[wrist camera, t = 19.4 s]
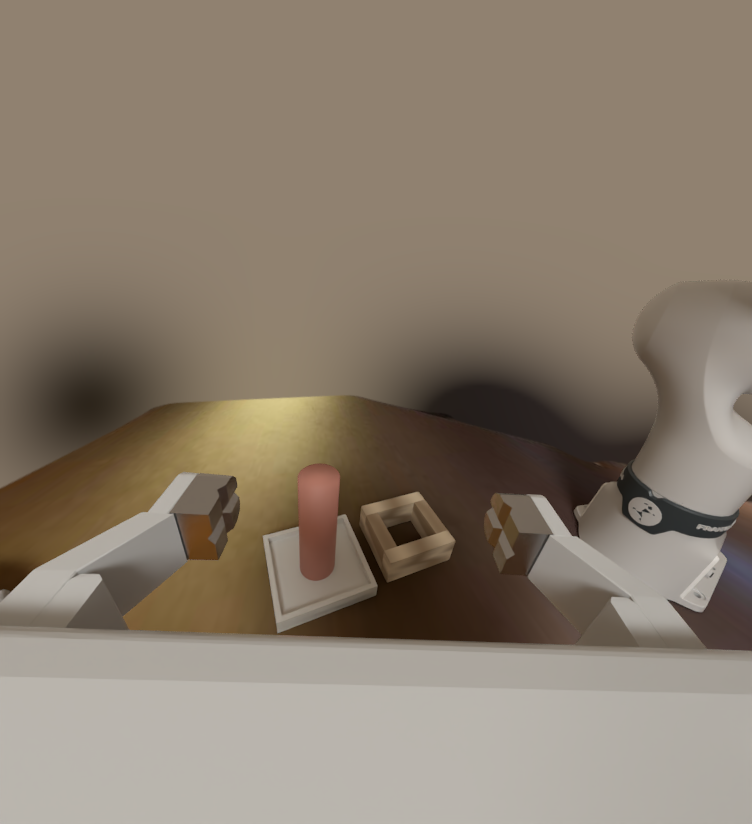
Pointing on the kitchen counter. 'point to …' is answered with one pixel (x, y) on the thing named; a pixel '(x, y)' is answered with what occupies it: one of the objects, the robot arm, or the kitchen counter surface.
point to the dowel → (317, 519)
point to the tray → (311, 598)
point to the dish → (4, 594)
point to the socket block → (410, 555)
